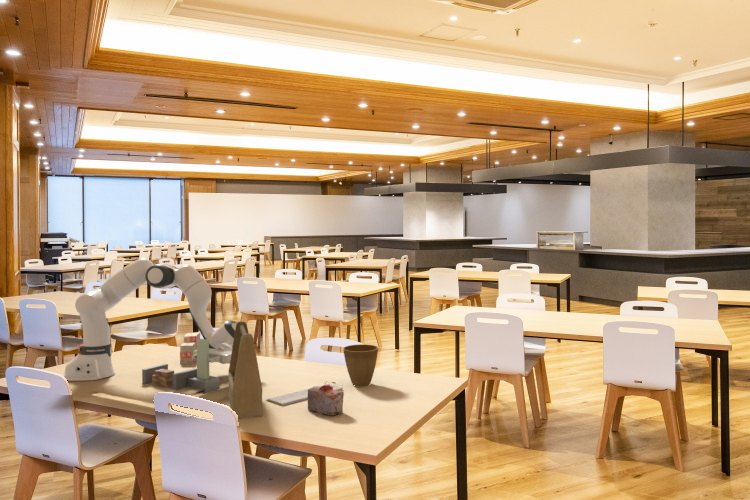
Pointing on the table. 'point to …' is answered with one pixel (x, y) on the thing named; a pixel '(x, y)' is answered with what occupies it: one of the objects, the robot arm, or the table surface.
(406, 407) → the table surface
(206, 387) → the steel holder
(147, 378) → the offcut rack
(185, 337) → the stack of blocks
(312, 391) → the food item
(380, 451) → the table surface
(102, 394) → the table surface
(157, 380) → the offcut stack
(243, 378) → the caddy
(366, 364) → the plant pot
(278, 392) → the table surface
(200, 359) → the tall panel
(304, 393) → the baseboard molding
